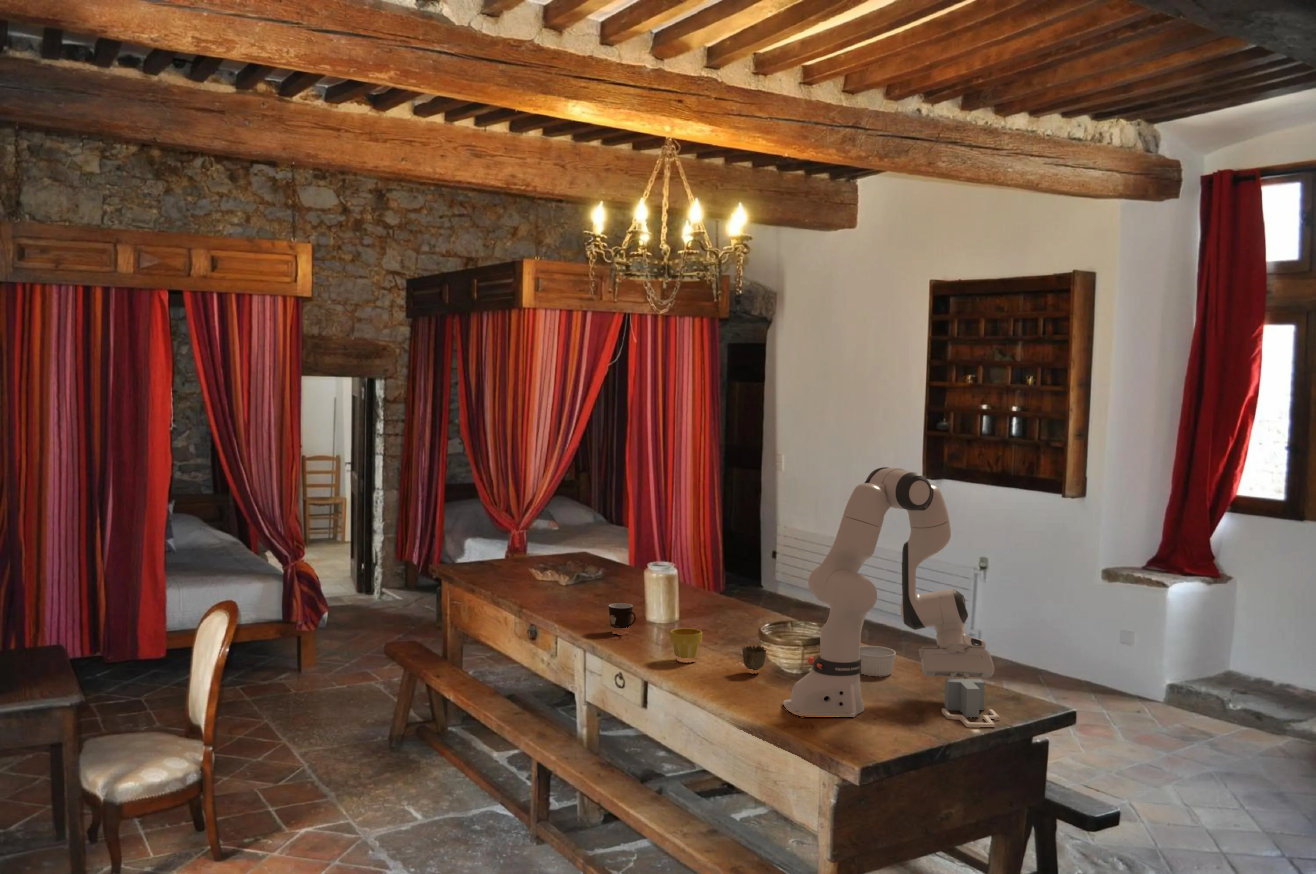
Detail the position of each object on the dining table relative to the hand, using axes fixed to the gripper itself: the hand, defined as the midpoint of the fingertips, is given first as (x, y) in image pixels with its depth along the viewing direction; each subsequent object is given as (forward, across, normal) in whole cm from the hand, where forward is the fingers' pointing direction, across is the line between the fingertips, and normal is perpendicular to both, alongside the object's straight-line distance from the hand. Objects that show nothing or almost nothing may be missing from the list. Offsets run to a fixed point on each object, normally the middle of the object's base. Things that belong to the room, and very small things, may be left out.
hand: (961, 689), depth 304 cm
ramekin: (-20, -18, +28) cm, 39 cm away
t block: (+7, 0, -1) cm, 7 cm away
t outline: (+12, 0, -5) cm, 13 cm away
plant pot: (-27, -77, +34) cm, 88 cm away
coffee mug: (-52, -99, +59) cm, 126 cm away
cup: (-18, -56, +25) cm, 64 cm away
